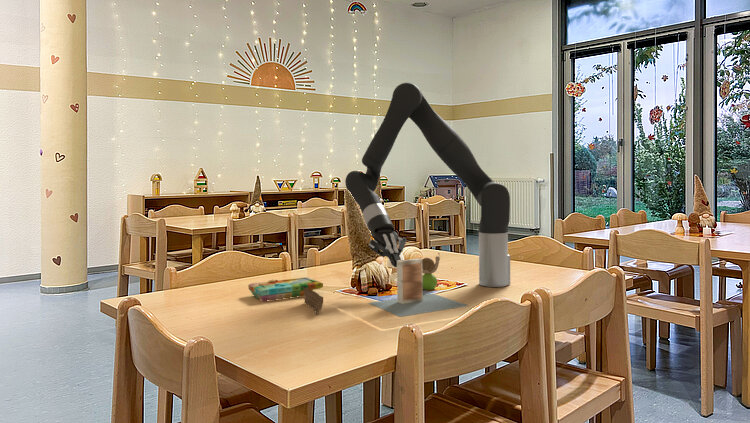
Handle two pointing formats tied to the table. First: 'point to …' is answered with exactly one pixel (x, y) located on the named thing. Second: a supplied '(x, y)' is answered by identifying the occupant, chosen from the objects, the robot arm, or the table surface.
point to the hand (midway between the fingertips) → (398, 265)
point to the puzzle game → (283, 288)
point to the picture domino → (409, 280)
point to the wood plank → (313, 299)
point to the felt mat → (418, 305)
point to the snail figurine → (429, 273)
